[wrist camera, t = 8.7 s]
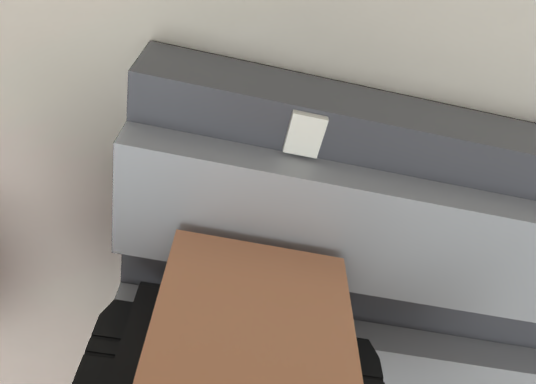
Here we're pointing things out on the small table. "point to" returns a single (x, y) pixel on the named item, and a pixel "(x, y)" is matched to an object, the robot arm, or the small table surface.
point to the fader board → (342, 202)
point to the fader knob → (249, 317)
